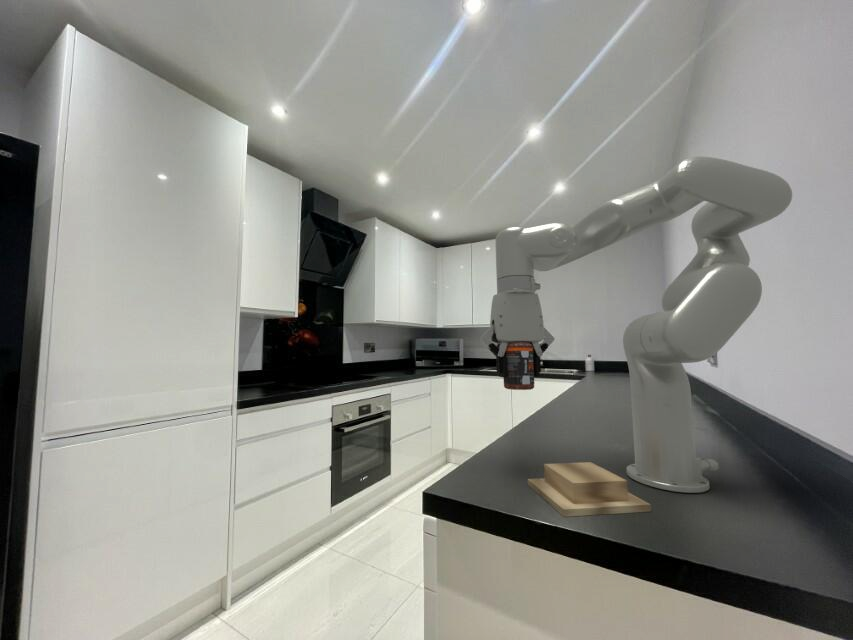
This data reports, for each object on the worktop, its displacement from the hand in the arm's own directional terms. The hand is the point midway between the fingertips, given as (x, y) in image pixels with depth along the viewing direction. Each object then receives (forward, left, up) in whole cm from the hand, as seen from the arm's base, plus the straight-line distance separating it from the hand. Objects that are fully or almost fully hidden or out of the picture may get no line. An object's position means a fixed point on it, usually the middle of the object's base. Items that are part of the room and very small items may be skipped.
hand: (518, 375), depth 66 cm
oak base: (-6, +10, -19) cm, 23 cm away
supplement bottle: (0, 0, -3) cm, 3 cm away
